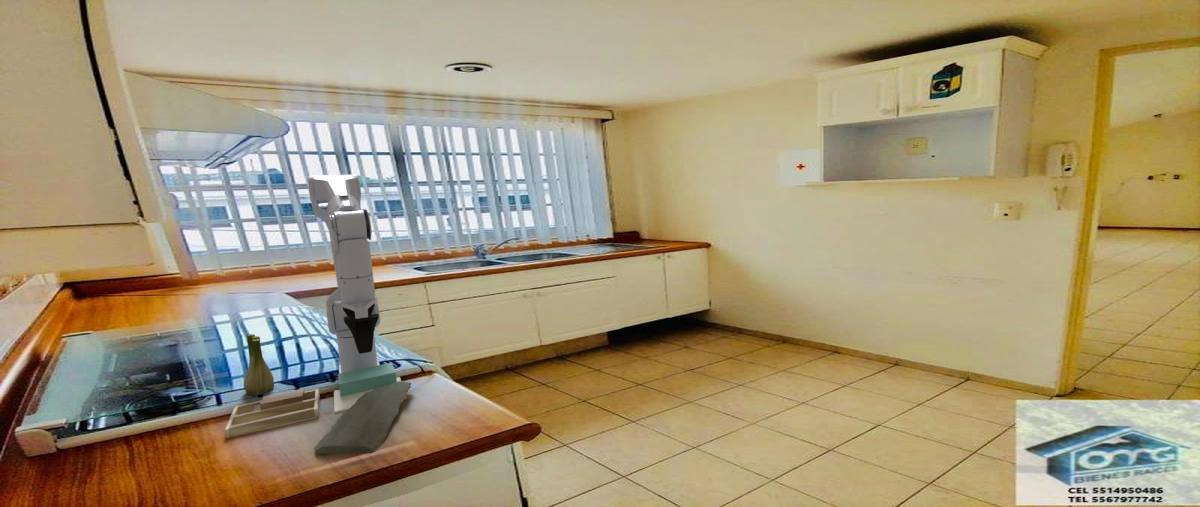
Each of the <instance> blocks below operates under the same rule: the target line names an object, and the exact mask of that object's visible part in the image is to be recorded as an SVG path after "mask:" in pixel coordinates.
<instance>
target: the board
mask: <svg viewBox="0 0 1200 507" xmlns="http://www.w3.org/2000/svg"><path fill="white" fill-rule="evenodd" d="M396 378H397V373H396V370H395V368H394V365H393V363H392V362H389V363H384V364H380V365H378V366H373V367H368V368H363V369H359V370H354V371H349V372H344V373H337V379H338V387H339V389H338V390H340V397H342V396H346V395H350V394H355V393H359V392H364V391H368V390H373V389H376V388H379V387H382V386H386V385H389V384H392V383H395V382H397V380H396Z"/></svg>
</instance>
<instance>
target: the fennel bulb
mask: <svg viewBox="0 0 1200 507" xmlns="http://www.w3.org/2000/svg"><path fill="white" fill-rule="evenodd" d="M246 341H247V346H248V347H247V348H248V356H249V363H248V369H247V371H246V374H245V376H244V381H243V390H244V391H245V393H247V394H248V395H250V396H261V395H264V394H266V393H268V392H269V391H271V390H273V389H274V387H275V382H274V381H275V380H274V375H273V373H272V370H271V369H270V368H269V365H268V364H267V362H266V360H265V359H264V356H263V354H262V353H263V352H262V347H261V346H262V345H261V336H259V335H258V336H256V335H255V333H253V334H252V333H251V334H247V336H246Z"/></svg>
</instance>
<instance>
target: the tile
mask: <svg viewBox="0 0 1200 507" xmlns="http://www.w3.org/2000/svg"><path fill="white" fill-rule="evenodd" d="M396 380H397V382H398V381H401V382H402V380H401V377H400V376H398V377H397V376H396ZM373 390H374V389H373ZM370 391H372V390H368V391H364V392H359V393H355V394H350V395H346V396H342V397H340V389H337V390H333V396H334V397H333V403H334V406H333V407H334V410H333V412H334V414H338V413H344V412H347V411H348V410H349V409H350V408H351V406H352V405H354V404H355V403H356V401H357V399H359V398H360V397H361V396H363V395H364V394H365V393H367V392H370ZM404 400H407V395H406V396H405V399H404ZM404 400H403V401H404Z"/></svg>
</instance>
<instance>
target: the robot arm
mask: <svg viewBox="0 0 1200 507" xmlns="http://www.w3.org/2000/svg"><path fill="white" fill-rule="evenodd" d="M307 183H308V191H309V198H310V203H311V208H312V212H313V213H314V217H316V218H318V219H321V220H323V221H324V223H325V225H326V228H327V229H328V233H329V239H330V246H331V252H332V259H333V264H334V271H335V277H336V285H337V289H336V290H335V291H333V292H332V293H331V294H330V295H329V296H328V297H327V298H326V300H325V306H326V308H325V312H326V313H325V314H326V319H327V320H326V321H327V326H328V332H329V334H331V335H335V336H336V341H337V342H336V343H337V348H338V357H339V364H338V372H339V373H344V372H349V371H354V370H359V369H363V368H368V367H373V366H378V365H381V364H380V362H379V358H378V356H377V347H376V338H375V332H376V328H378V326H379V325H380V323H381V315H380V314H381V312H380V308H379V302H378V297H377V296H376V289H375V282H374V281H375V280H374V272H373V265H372V264H373V263H372V255H371V245H370V244H371V243H370V241H372V221H371V218H370V215H369V211H368V210H367V209H366V208H362V207H361V206H362V205H361V204H362V203H361V200H362V191H361V190H362V189H361V182H360V178H359V176H358V175H356V173H352V174H331V175H313V174H311V175H309V177H307ZM339 373H338V374H339Z"/></svg>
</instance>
